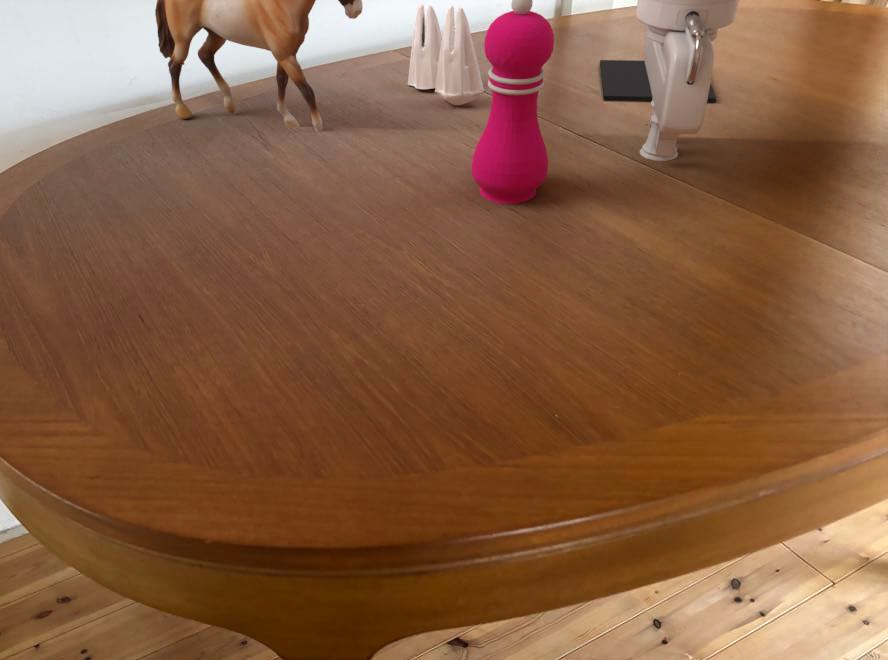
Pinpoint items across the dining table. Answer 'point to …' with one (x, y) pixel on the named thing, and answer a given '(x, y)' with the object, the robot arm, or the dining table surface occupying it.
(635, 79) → the placemat
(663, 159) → the rook chess piece
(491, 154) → the pepper mill
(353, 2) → the horse figurine
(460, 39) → the shaker set
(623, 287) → the dining table surface
